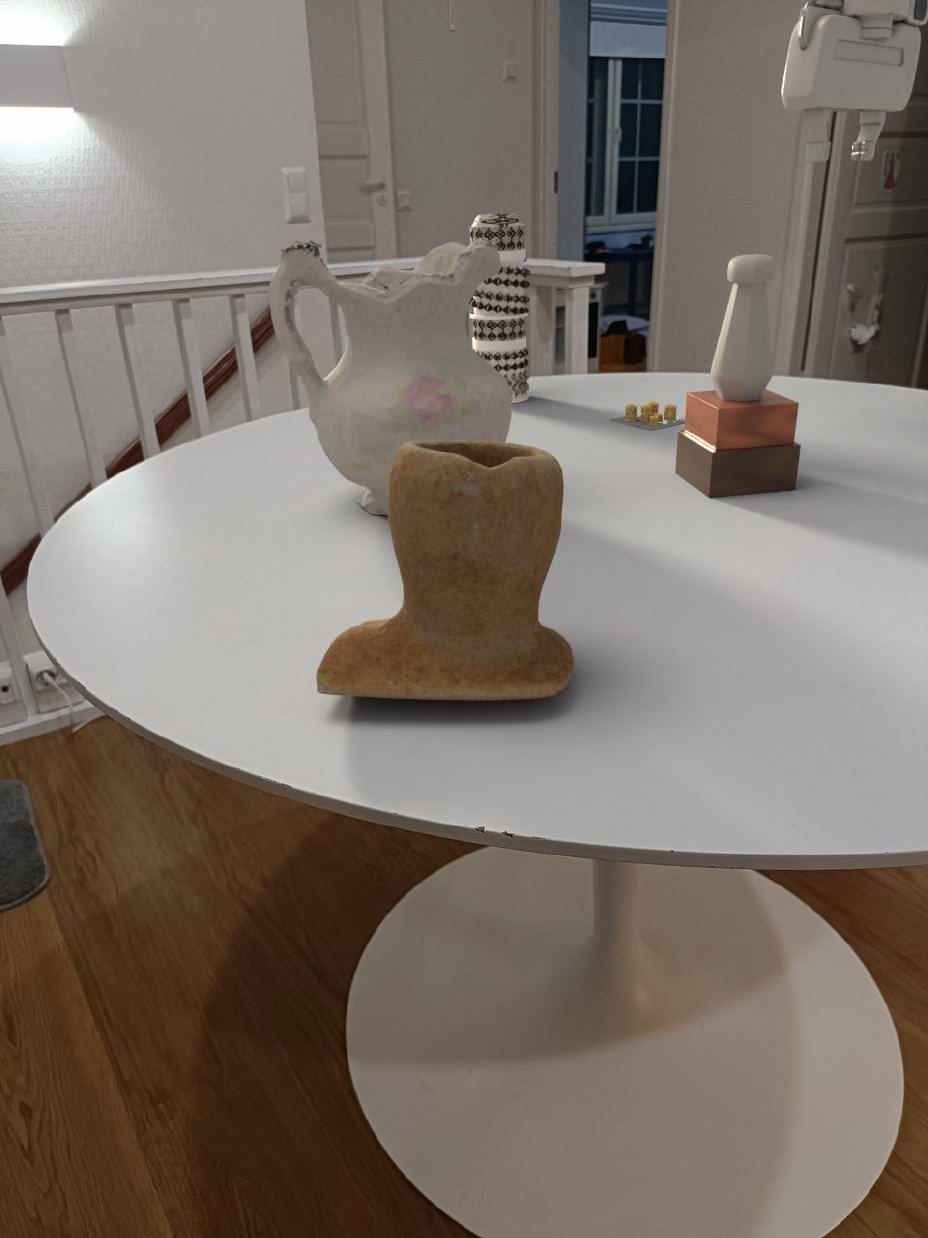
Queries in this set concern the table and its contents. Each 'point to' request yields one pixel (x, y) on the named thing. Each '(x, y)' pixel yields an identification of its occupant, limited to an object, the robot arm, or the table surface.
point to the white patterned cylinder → (503, 302)
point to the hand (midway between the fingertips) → (839, 161)
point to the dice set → (649, 416)
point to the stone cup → (463, 580)
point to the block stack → (738, 444)
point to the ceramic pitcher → (395, 360)
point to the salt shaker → (745, 331)
